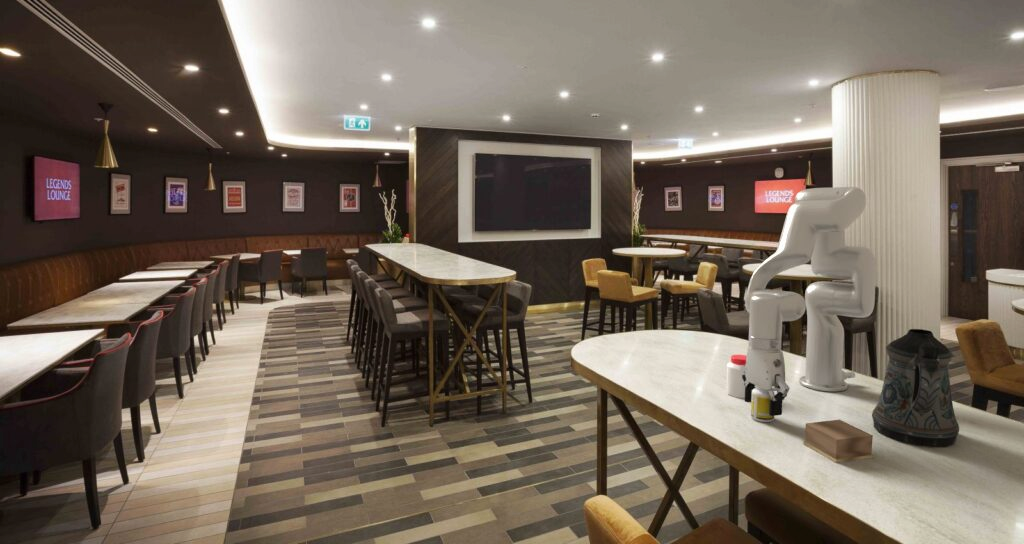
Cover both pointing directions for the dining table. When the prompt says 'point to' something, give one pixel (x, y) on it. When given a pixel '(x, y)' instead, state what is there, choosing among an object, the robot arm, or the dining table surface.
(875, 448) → the dining table surface
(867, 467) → the dining table surface
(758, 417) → the supplement bottle
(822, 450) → the walnut riser
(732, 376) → the pill bottle
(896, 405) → the patterned ceramic jug
